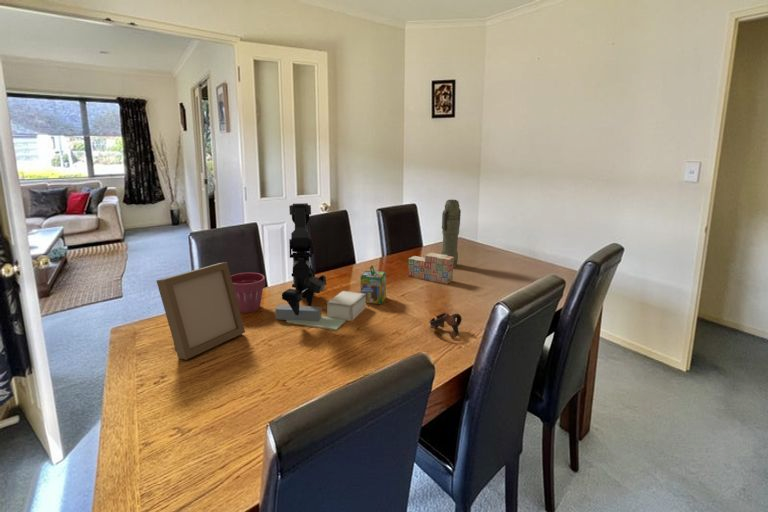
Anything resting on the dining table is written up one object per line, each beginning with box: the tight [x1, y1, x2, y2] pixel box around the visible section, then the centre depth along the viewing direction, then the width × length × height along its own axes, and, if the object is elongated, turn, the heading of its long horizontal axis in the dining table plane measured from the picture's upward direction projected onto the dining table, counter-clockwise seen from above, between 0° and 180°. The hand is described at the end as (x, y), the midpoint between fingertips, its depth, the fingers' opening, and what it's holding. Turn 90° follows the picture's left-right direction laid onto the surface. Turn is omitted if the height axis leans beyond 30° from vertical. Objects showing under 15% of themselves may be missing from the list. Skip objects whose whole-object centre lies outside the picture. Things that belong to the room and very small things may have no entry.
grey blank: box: [274, 304, 322, 321], centre depth 155 cm, size 16×4×4 cm, turn 85°
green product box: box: [359, 264, 387, 305], centre depth 173 cm, size 9×9×15 cm
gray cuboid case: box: [326, 290, 367, 322], centre depth 162 cm, size 10×14×6 cm
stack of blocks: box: [407, 252, 455, 285], centre depth 202 cm, size 21×6×12 cm, turn 57°
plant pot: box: [231, 272, 266, 314], centre depth 163 cm, size 14×14×13 cm
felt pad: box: [285, 315, 347, 331], centre depth 153 cm, size 20×8×1 cm, turn 71°
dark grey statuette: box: [440, 199, 462, 267], centre depth 221 cm, size 9×12×35 cm
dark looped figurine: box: [429, 312, 463, 340], centre depth 146 cm, size 12×10×8 cm
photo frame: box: [156, 261, 246, 360], centre depth 134 cm, size 15×22×25 cm
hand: (303, 310), depth 154 cm, fingers open, 9 cm apart
